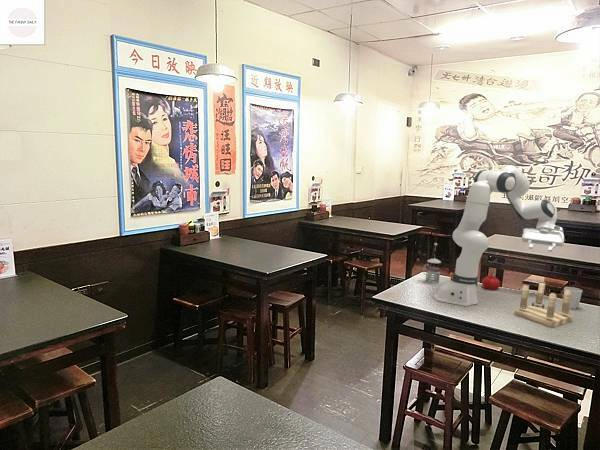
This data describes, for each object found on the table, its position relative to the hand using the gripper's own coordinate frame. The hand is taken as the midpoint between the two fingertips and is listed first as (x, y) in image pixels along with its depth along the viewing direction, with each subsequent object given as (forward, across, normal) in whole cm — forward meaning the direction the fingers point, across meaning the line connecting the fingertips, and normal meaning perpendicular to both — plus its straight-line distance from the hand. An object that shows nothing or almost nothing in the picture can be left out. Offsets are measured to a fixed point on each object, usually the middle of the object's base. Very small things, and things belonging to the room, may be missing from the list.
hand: (540, 249), depth 228 cm
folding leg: (+32, +4, +2) cm, 32 cm away
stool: (+41, +8, -2) cm, 42 cm away
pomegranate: (+17, -24, +23) cm, 37 cm away
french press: (+28, -54, +12) cm, 62 cm away
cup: (+22, +17, +19) cm, 33 cm away
